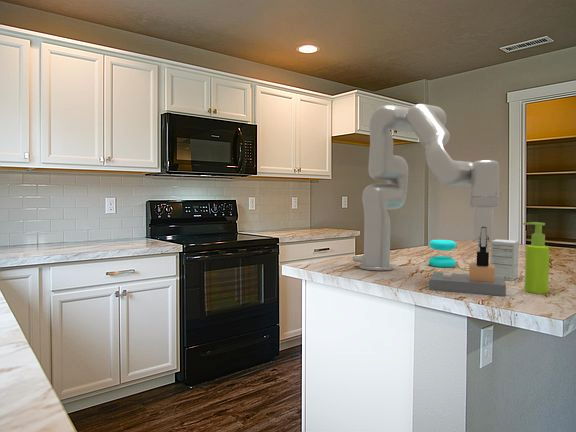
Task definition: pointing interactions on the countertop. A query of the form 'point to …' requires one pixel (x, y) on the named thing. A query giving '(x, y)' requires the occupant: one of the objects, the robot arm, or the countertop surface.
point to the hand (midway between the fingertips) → (482, 265)
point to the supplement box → (505, 258)
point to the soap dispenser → (537, 262)
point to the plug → (482, 273)
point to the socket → (466, 284)
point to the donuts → (442, 260)
